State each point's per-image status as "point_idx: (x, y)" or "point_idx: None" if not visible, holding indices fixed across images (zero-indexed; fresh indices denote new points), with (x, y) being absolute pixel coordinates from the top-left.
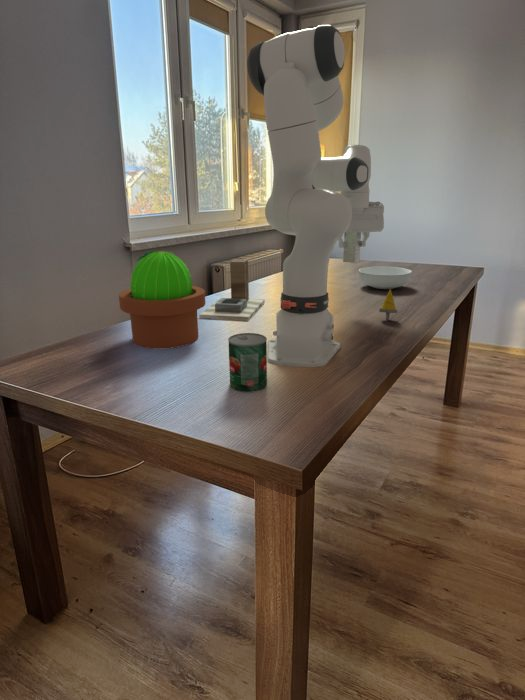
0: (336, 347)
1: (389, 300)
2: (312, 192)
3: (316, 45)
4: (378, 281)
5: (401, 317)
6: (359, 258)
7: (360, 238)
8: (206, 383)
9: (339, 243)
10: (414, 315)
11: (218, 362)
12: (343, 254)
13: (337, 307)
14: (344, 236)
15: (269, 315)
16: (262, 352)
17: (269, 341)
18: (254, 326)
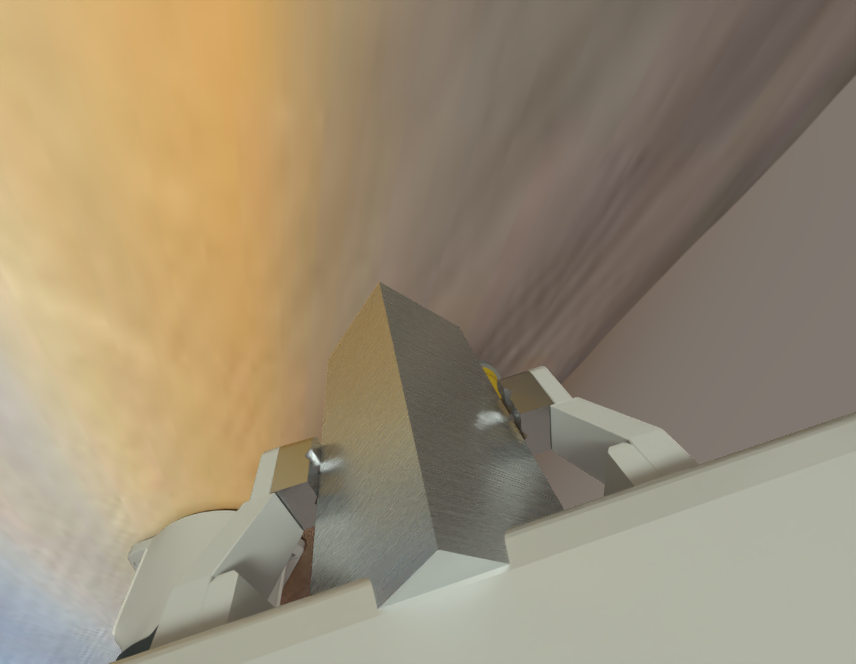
0: (295, 564)
1: None
2: None
3: None
4: None
5: (519, 333)
6: (464, 337)
7: (532, 470)
8: (82, 660)
9: (261, 489)
10: (566, 312)
11: (55, 616)
12: (325, 395)
13: (327, 184)
14: (314, 563)
15: (6, 307)
16: None
17: (133, 564)
18: (13, 435)
